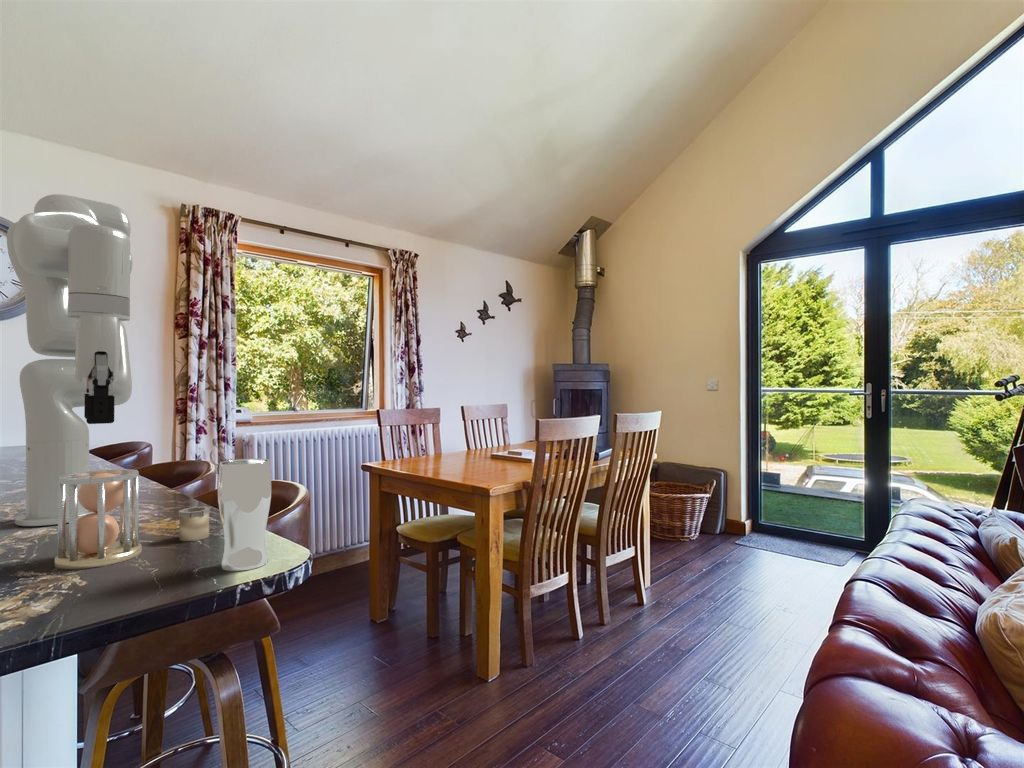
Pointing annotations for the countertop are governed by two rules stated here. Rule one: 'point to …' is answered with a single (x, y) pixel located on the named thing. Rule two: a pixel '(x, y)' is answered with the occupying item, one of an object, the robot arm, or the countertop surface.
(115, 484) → the terracotta ball
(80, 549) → the ball
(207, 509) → the stand
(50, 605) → the countertop surface
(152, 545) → the countertop surface
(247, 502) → the beer glass
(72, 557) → the cage tube
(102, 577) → the countertop surface
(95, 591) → the countertop surface
